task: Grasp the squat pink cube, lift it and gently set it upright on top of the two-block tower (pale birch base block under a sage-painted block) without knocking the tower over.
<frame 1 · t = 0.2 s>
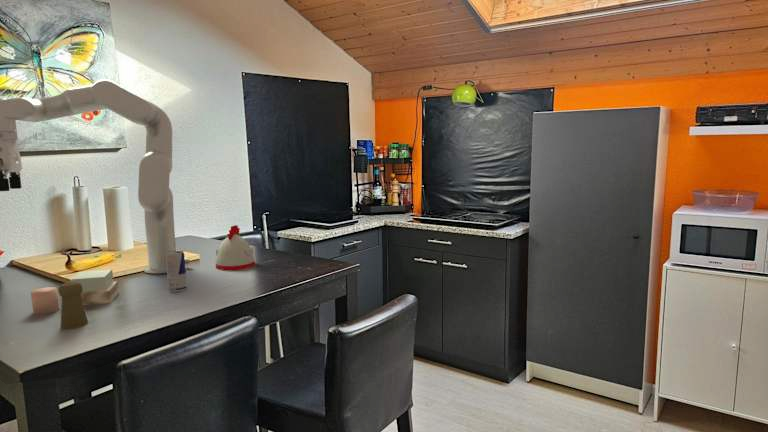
hand: (9, 189, 173), 31 cm above the table, fingers open, 9 cm apart
tower top: (93, 287, 154), point 4 cm above the table, touching tower base
white beanie hat: (235, 266, 193), on the table
energy drink: (177, 290, 163), on the table
olive pepper mill: (74, 325, 133), on the table
tower base: (94, 300, 155), on the table, touching tower top
pink cube: (46, 311, 145), on the table
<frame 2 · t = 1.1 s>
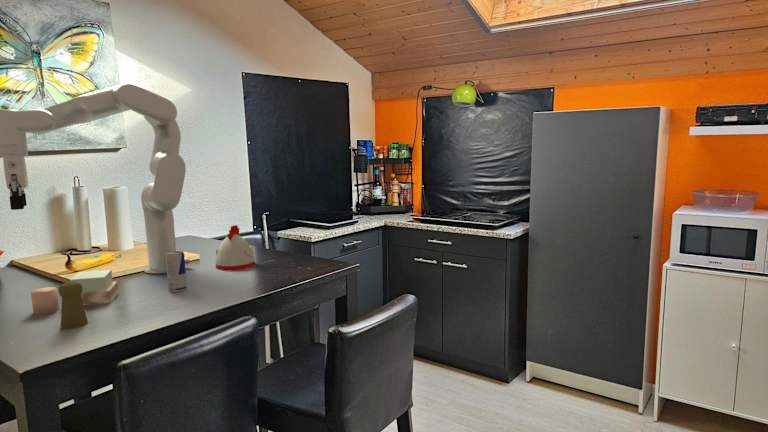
hand: (19, 207, 160), 27 cm above the table, fingers open, 9 cm apart
nothing on the table moved.
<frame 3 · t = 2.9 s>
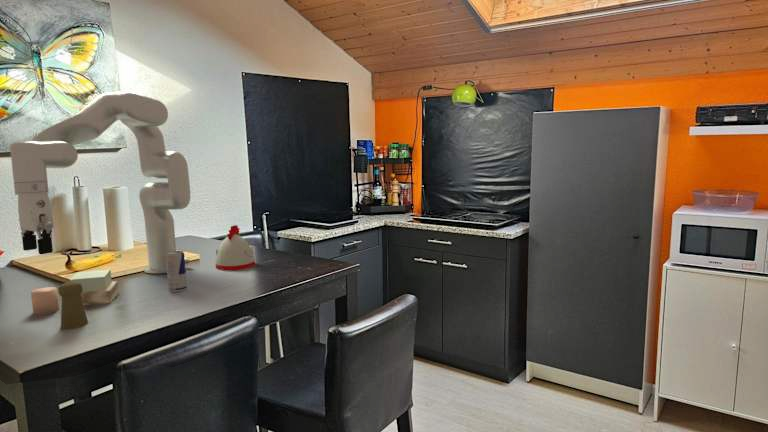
hand: (38, 251, 142), 17 cm above the table, fingers open, 9 cm apart
nothing on the table moved.
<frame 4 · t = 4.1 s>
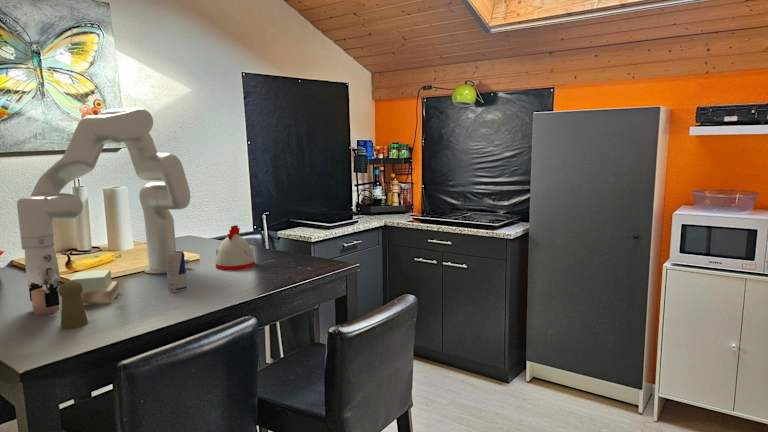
hand: (44, 303, 144), 2 cm above the table, fingers open, 9 cm apart
nothing on the table moved.
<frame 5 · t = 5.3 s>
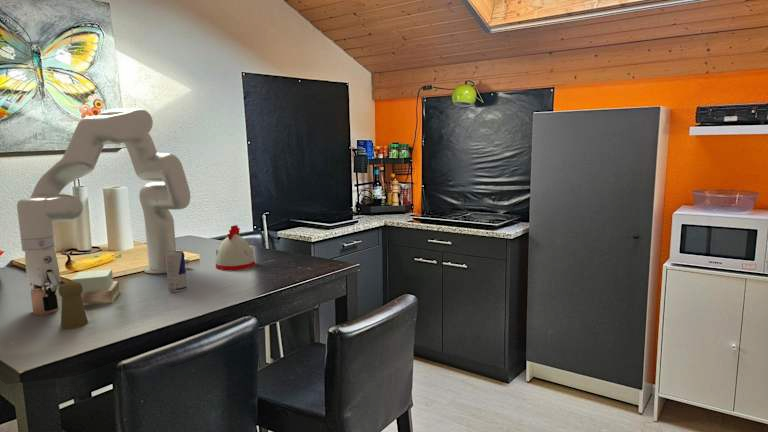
hand: (45, 307, 144), 1 cm above the table, fingers closed on pink cube, 6 cm apart
pink cube: (46, 311, 145), on the table, touching gripper
everything else where it was.
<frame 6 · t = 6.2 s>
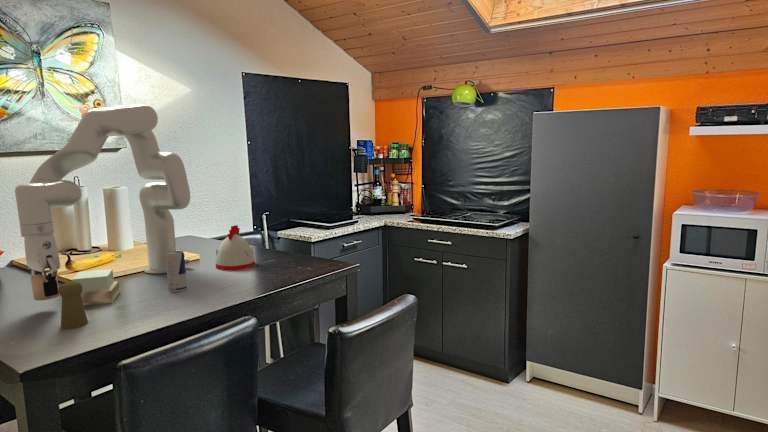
hand: (46, 292, 145), 5 cm above the table, fingers closed on pink cube, 6 cm apart
pink cube: (46, 296, 145), point 4 cm above the table, touching gripper
everything else where it was.
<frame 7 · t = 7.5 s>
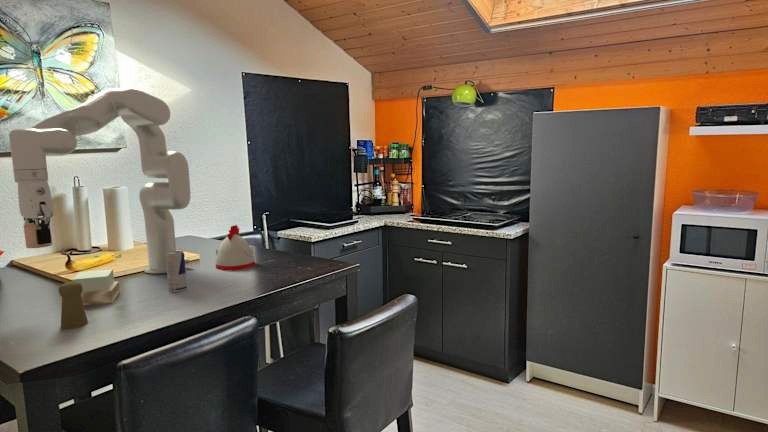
hand: (39, 241, 142), 19 cm above the table, fingers closed on pink cube, 6 cm apart
pink cube: (39, 246, 142), point 18 cm above the table, touching gripper
everything else where it was.
when the fingers open (10 cm above the table, at t = 11.6 s): pink cube drops 1 cm, resting on tower top.
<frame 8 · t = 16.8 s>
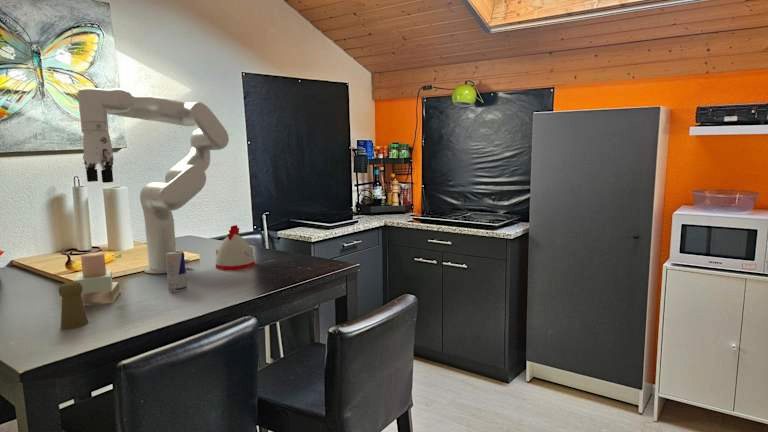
hand: (100, 181, 169), 33 cm above the table, fingers open, 9 cm apart
tower top: (94, 288, 154), point 3 cm above the table, touching pink cube, tower base
pink cube: (94, 274, 154), point 7 cm above the table, touching tower top
everything else where it was.
at the end: pink cube 0.2 cm off-centre on the tower top, point 4.0 cm above the tower top's base; pink cube tilted 1°; tower top 0.4 cm off-centre on the tower base, point 4.0 cm above the tower base's base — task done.
